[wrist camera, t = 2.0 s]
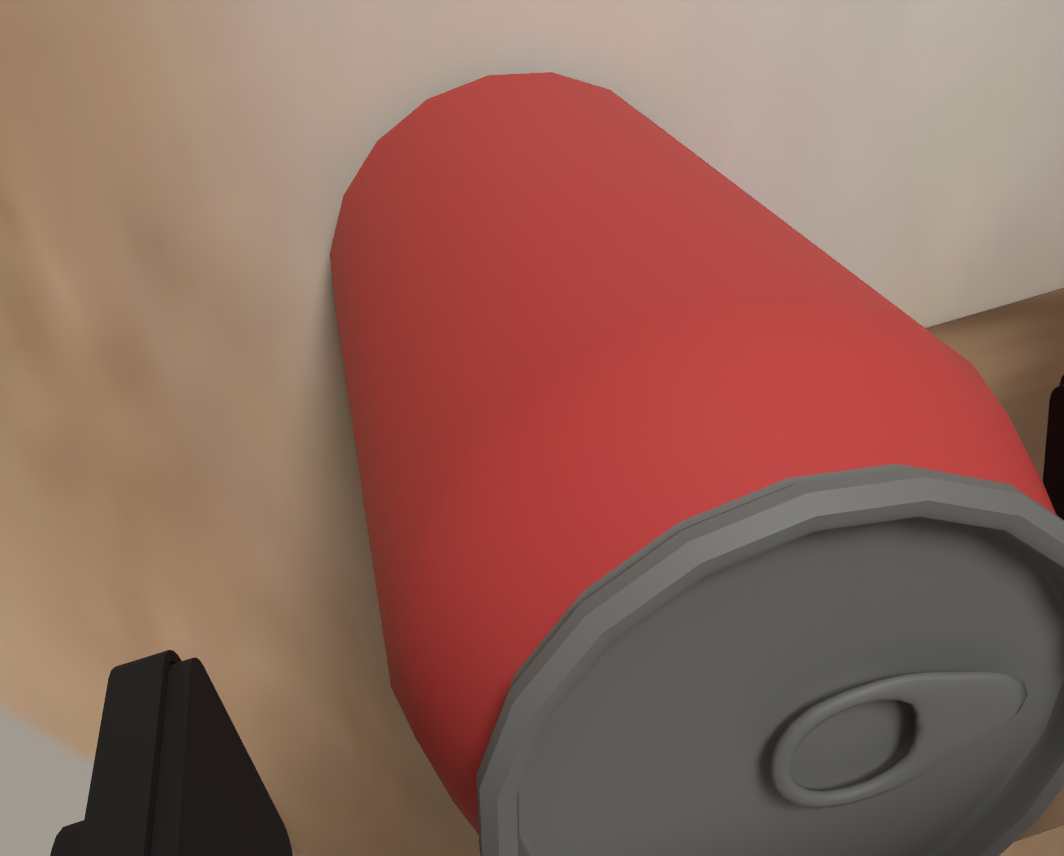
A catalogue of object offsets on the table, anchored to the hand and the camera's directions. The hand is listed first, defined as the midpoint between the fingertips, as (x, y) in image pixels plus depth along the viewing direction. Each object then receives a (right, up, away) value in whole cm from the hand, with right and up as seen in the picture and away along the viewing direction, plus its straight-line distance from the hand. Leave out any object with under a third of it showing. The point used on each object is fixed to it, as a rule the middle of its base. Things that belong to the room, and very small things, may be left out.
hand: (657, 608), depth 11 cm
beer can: (-2, +5, +8) cm, 9 cm away
